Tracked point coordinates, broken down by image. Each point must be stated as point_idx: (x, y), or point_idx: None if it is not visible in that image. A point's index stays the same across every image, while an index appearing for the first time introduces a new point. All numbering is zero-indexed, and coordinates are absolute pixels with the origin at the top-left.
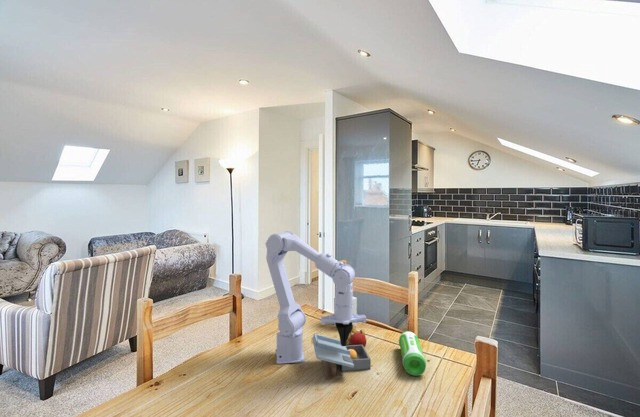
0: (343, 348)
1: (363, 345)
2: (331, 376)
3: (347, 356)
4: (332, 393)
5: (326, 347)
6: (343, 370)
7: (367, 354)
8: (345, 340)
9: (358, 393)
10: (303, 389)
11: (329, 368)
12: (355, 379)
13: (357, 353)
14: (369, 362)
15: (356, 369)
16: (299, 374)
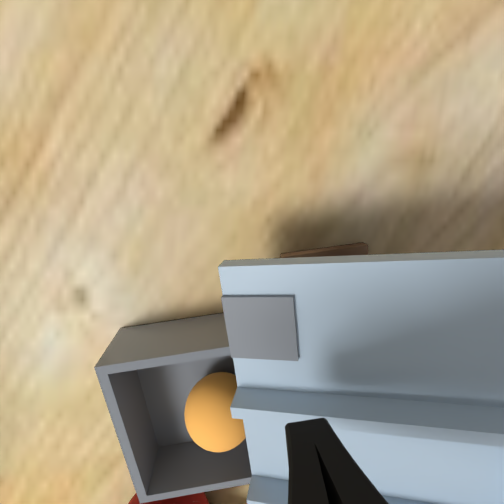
0: (271, 445)
1: (138, 501)
2: (342, 251)
3: (257, 357)
4: (350, 120)
5: (436, 412)
6: None
7: (113, 412)
8: (310, 479)
9: (206, 116)
10: (490, 158)
11: None
12: (211, 242)
13: (180, 445)
14: (110, 351)
15: (198, 319)
16: None
